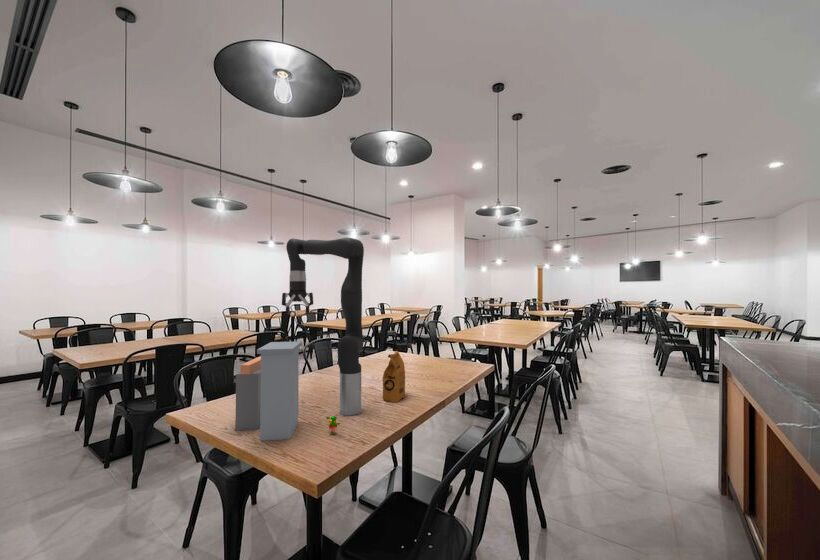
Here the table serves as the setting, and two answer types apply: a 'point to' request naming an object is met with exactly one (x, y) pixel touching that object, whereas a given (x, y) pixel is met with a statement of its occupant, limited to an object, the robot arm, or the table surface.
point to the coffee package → (394, 379)
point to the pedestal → (279, 390)
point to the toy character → (333, 423)
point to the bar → (251, 366)
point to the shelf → (248, 400)
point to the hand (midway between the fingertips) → (297, 314)
